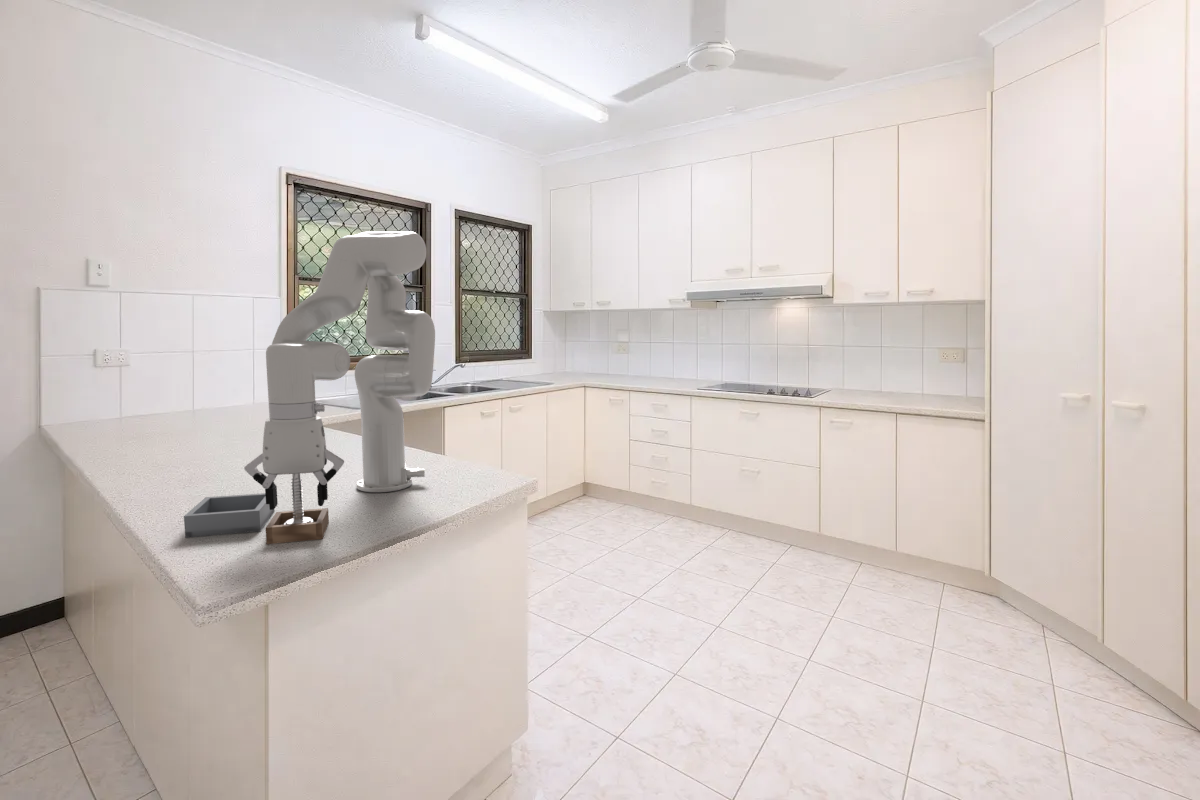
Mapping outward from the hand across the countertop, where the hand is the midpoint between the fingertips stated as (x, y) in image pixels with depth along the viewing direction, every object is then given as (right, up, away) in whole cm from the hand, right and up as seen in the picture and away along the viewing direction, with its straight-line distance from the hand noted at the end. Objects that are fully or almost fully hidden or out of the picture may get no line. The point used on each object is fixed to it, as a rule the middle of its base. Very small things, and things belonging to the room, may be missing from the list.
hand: (297, 505), depth 106 cm
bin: (-15, -5, +5) cm, 17 cm away
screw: (0, -6, +1) cm, 6 cm away
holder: (0, -5, +1) cm, 5 cm away
